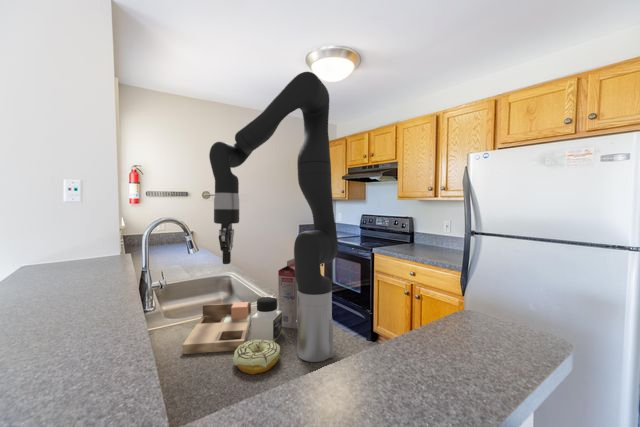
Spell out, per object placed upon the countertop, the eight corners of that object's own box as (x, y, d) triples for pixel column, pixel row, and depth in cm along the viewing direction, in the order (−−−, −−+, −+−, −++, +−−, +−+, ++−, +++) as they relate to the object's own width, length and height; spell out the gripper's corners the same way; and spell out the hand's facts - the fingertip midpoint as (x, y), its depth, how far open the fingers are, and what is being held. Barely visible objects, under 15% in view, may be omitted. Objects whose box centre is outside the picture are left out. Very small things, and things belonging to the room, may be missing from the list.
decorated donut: (225, 374, 66) (225, 357, 66) (245, 350, 77) (244, 335, 77) (271, 378, 64) (271, 360, 64) (284, 352, 76) (284, 337, 76)
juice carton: (278, 326, 93) (278, 260, 93) (286, 318, 99) (286, 257, 99) (296, 328, 91) (296, 261, 91) (304, 321, 97) (304, 258, 97)
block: (248, 313, 98) (248, 301, 98) (246, 318, 93) (246, 306, 93) (233, 314, 97) (233, 302, 97) (231, 319, 92) (231, 307, 92)
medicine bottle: (273, 343, 81) (273, 302, 81) (250, 341, 82) (250, 300, 82) (281, 333, 88) (282, 295, 88) (260, 331, 89) (260, 293, 89)
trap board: (250, 319, 99) (250, 302, 99) (244, 349, 77) (244, 328, 77) (203, 321, 96) (203, 304, 96) (182, 354, 75) (182, 331, 74)
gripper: (236, 207, 81) (236, 267, 81) (241, 208, 94) (241, 259, 94) (209, 207, 79) (209, 268, 80) (218, 208, 93) (218, 260, 93)
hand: (226, 263), depth 87 cm, fingers closed
